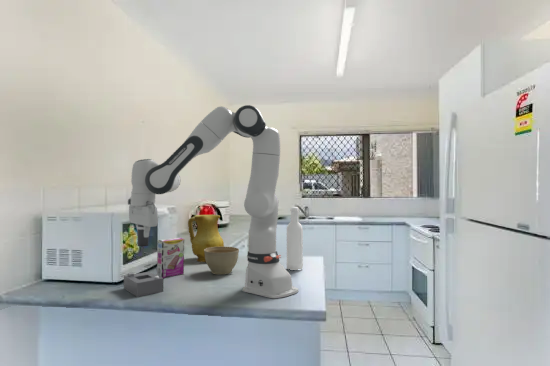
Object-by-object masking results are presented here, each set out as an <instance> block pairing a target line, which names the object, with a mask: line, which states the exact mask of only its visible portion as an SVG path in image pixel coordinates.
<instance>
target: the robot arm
mask: <svg viewBox="0 0 550 366" xmlns="http://www.w3.org/2000/svg"><path fill="white" fill-rule="evenodd" d="M230 133H234V134H236V135H239V136H240V137H242V138H247V139H248V138H250V139H251V140H252V155H251V156H252V157H251V167H250V168H251V169H250V176H249V181H248V185H247V190H246V195H245V198H244V202H243V204H244V205H243V206H244V210H245V212H246V213H247V214H248V215H249V216H251V218H250V224H249V229H248V251H247V255H246V257H247V266H246V269H245V280H244V286H243V287H242V292H244V293H249V294H251V295H252V294H253V295H256V296H257V295H258V296H261V297H265V298H269V299H279V298H284V297H285V298H286V297H288V296H293V295H295V294H297V293H298V292H299V288H298V287H296V286H293V281H292V275H291V274H290V273H289V271H288V270H287V268H285V267H284V265H282V264H281V262H280V259H281V258H282V257H281V256H282V255H281V254H279V253H278V251H277V229H278V214H279V198H278V197H279V196H278V195H277V194H276V189H277V188H276V187H277V183H278V178H279V171H280V162H281V160H280V159H281V138H280V133H279V130H277V129H275V128H274V127H271V126H267V123H266V121H265V119H264V117H263V115H262V112H261V111H260V110H259V109H258V108H257V107H256V106H253V105H251V104H245V105H242V106H241V107H239V108H238V109H237V110H236V112H234V111H232V110H230V109H229V108H227V107H225V106H221V105H220V106H217V107H215V108H214V109H213V110H212V111H211V112H209V113H208V114H207V115H206V116H205V117H203V119H201V121H200V122H199V123H198V124H197V125H196V126H195V128H193V130H192V131H191V133H190V134H189V135H188V137H187V138H186V139H185V140H184V142H182V144H180V146H179V147H177V148H176V150H175V151H174V152H172V154H171V155H170V156H169V157H168V158H167V159H165V161H163V162H162V163H160V164H159V163H158V162H157V161H155V160H154V159H152V158H151V159H150V158H147V159H146V158H145V159H139V160H136V161H135V162H134V163H133V165H132V168H131V179H130V180H131V181H130V182H131V185H132V187H131V194H130V197H129V198H128V199H127V205H128V218H129V219H128V220H129V221H130V223H131V224H135V227H136V231H137V232H138V229H137V226H138V225H143V226H144V233H143V237H148V238H149V236H150V231H151V227H152V228H153V227H155V228H156V227H157V226H158V225H159V214H158V213H159V212H158V207H156V195H164V194H169V193H173V192H174V191H175V190H177V189H178V188H179V186H180V185H181V176H180V172H181V171H182V170H183V169H184V168H185V167H186V166H187V165H188V164H190V162H192V160H193V159H194V158H196V157H198V156H200V155H203V154H207V153H210V152H211V151H212V150H214V149H216V147H218V145H220V143H221V142H222V141H223V140H225V138H226V137H227V136H229V134H230Z"/></svg>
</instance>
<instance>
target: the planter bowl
mask: <svg viewBox="0 0 550 366" xmlns="http://www.w3.org/2000/svg"><path fill="white" fill-rule="evenodd" d="M204 253H205V260H206V262H205V263H206V264H207V267H208V268H209V270H210V273H211V274H213V275H221V276H222V275H223V276H224V275H229V274H231V273H232V272H233V270H234V268H235V266H236V264H237V263H238V259H239V254H240V249H239V248H238V247H234V246H224V247H211V248H206V249H204Z"/></svg>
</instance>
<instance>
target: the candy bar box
mask: <svg viewBox="0 0 550 366" xmlns="http://www.w3.org/2000/svg"><path fill="white" fill-rule="evenodd" d="M156 250H157V251H156V252H157V255H156V256H157V263H156V275H157V276H159V277H161V278H163V279H165V278H170V277H176V276H180V275H184V273H185V271H184V270H185V269H184V268H185V238H182V237H174V238H162V239H157V249H156Z"/></svg>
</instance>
